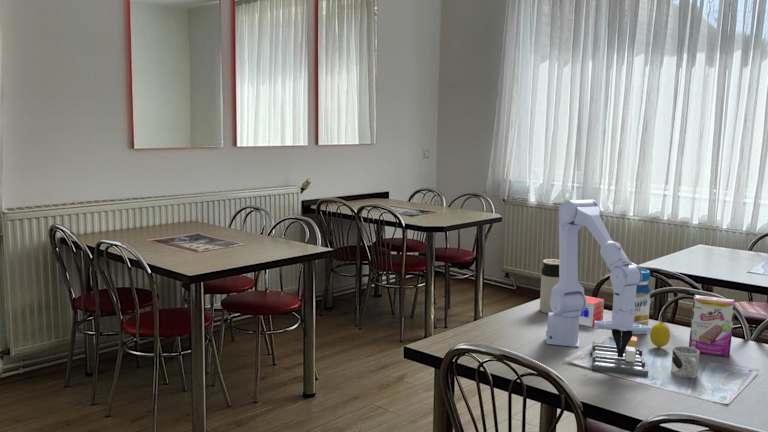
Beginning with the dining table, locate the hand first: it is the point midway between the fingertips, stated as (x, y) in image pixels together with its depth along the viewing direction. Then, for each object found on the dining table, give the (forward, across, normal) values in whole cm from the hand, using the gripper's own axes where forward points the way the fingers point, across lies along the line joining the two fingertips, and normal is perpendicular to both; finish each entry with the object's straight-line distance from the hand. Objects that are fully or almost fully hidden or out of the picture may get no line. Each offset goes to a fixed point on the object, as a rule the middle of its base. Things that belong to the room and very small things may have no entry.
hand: (620, 356), depth 195 cm
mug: (+3, +17, -1) cm, 17 cm away
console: (+3, 0, +5) cm, 6 cm away
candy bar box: (+3, +26, +22) cm, 34 cm away
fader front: (+1, +3, 0) cm, 3 cm away
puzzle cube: (+3, -9, +42) cm, 43 cm away
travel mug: (+3, -21, +51) cm, 55 cm away
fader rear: (+1, +4, +10) cm, 11 cm away
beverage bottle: (+3, +6, +37) cm, 38 cm away
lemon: (+3, +12, +21) cm, 24 cm away
